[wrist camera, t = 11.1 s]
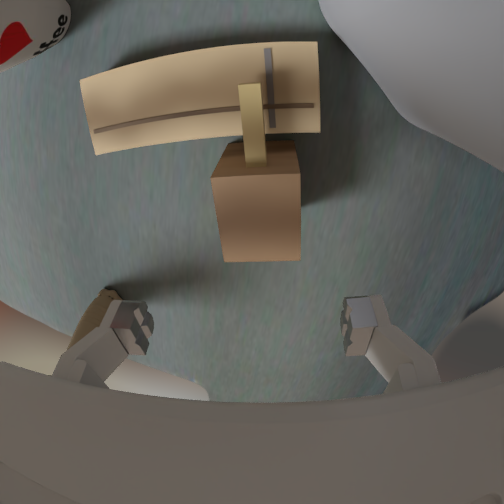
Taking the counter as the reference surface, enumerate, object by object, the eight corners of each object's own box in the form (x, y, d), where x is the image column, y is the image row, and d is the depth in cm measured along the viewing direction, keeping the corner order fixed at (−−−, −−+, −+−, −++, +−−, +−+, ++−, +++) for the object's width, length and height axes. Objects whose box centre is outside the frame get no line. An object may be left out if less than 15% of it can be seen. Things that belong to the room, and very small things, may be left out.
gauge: (221, 81, 19) (198, 91, 14) (290, 76, 19) (297, 83, 13) (236, 211, 26) (224, 262, 20) (295, 209, 25) (300, 260, 20)
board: (103, 74, 19) (78, 80, 16) (310, 44, 17) (317, 41, 14) (116, 141, 22) (95, 155, 20) (314, 121, 21) (320, 133, 18)
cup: (33, 80, 19) (-48, 111, 11) (12, 19, 14) (-67, 33, 6) (96, 30, 17) (8, 36, 9) (72, -34, 12) (-10, -46, 4)
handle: (94, 271, 32) (33, 379, 20) (140, 299, 33) (95, 414, 21) (86, 293, 34) (33, 392, 22) (128, 319, 36) (87, 422, 24)
